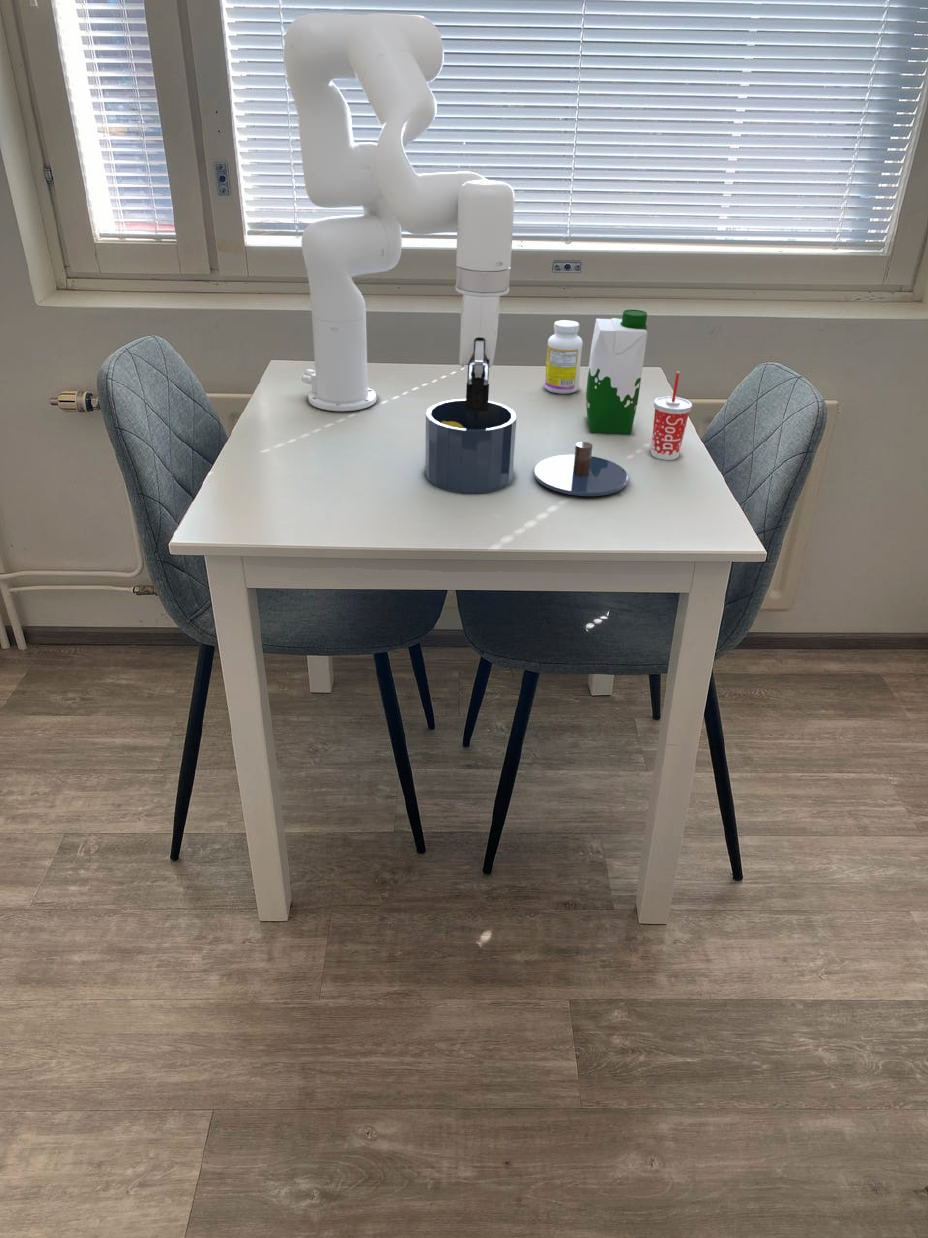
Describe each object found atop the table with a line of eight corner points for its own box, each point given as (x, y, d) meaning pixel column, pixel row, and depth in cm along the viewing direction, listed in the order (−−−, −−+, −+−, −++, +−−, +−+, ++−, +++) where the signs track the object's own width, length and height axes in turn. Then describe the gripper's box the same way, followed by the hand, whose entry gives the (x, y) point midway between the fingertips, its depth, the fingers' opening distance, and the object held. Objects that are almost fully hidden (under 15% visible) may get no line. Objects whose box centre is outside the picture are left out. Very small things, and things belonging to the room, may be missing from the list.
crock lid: (535, 497, 134) (538, 461, 131) (532, 459, 147) (535, 425, 144) (632, 501, 134) (637, 465, 131) (621, 463, 147) (626, 429, 143)
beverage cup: (643, 458, 149) (655, 374, 141) (649, 445, 154) (662, 364, 146) (680, 464, 147) (694, 380, 139) (685, 450, 152) (700, 369, 144)
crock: (422, 491, 135) (423, 428, 129) (428, 456, 146) (429, 396, 141) (512, 495, 135) (517, 432, 129) (511, 460, 146) (515, 400, 141)
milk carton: (636, 436, 157) (653, 319, 146) (584, 434, 157) (597, 317, 146) (630, 418, 164) (645, 306, 153) (581, 416, 164) (592, 304, 153)
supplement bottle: (555, 381, 181) (561, 316, 174) (584, 388, 177) (591, 322, 170) (537, 389, 176) (542, 323, 169) (566, 397, 173) (573, 329, 166)
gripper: (457, 264, 132) (454, 379, 141) (453, 293, 117) (449, 418, 127) (508, 267, 132) (501, 381, 141) (510, 296, 117) (502, 421, 127)
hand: (477, 398), depth 134 cm, fingers open, 9 cm apart
